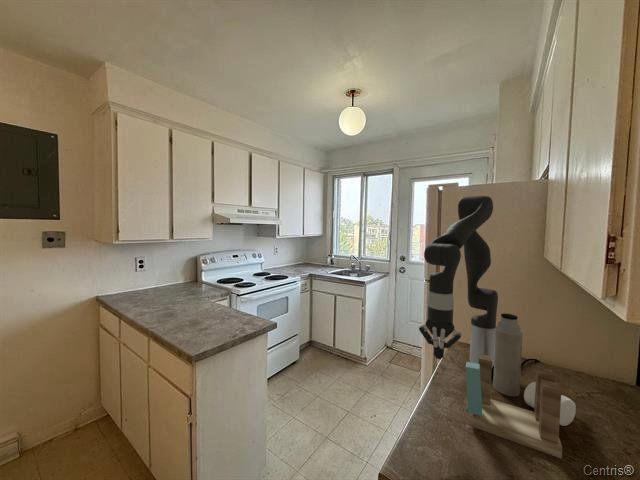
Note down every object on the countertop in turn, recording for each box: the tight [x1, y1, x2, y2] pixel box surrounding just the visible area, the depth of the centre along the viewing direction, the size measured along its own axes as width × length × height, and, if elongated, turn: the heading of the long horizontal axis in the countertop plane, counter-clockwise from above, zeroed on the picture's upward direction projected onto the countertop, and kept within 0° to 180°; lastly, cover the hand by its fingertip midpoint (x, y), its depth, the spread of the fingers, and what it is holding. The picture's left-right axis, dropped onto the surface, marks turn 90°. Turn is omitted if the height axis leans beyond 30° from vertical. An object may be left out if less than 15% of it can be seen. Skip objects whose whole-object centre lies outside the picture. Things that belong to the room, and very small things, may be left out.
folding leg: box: [465, 361, 482, 416], centre depth 81 cm, size 4×4×14 cm
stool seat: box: [472, 354, 563, 459], centre depth 79 cm, size 13×20×18 cm, turn 58°
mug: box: [523, 381, 577, 427], centre depth 85 cm, size 12×10×8 cm
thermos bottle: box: [492, 313, 523, 397], centre depth 97 cm, size 8×8×28 cm
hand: (438, 358), depth 86 cm, fingers closed
